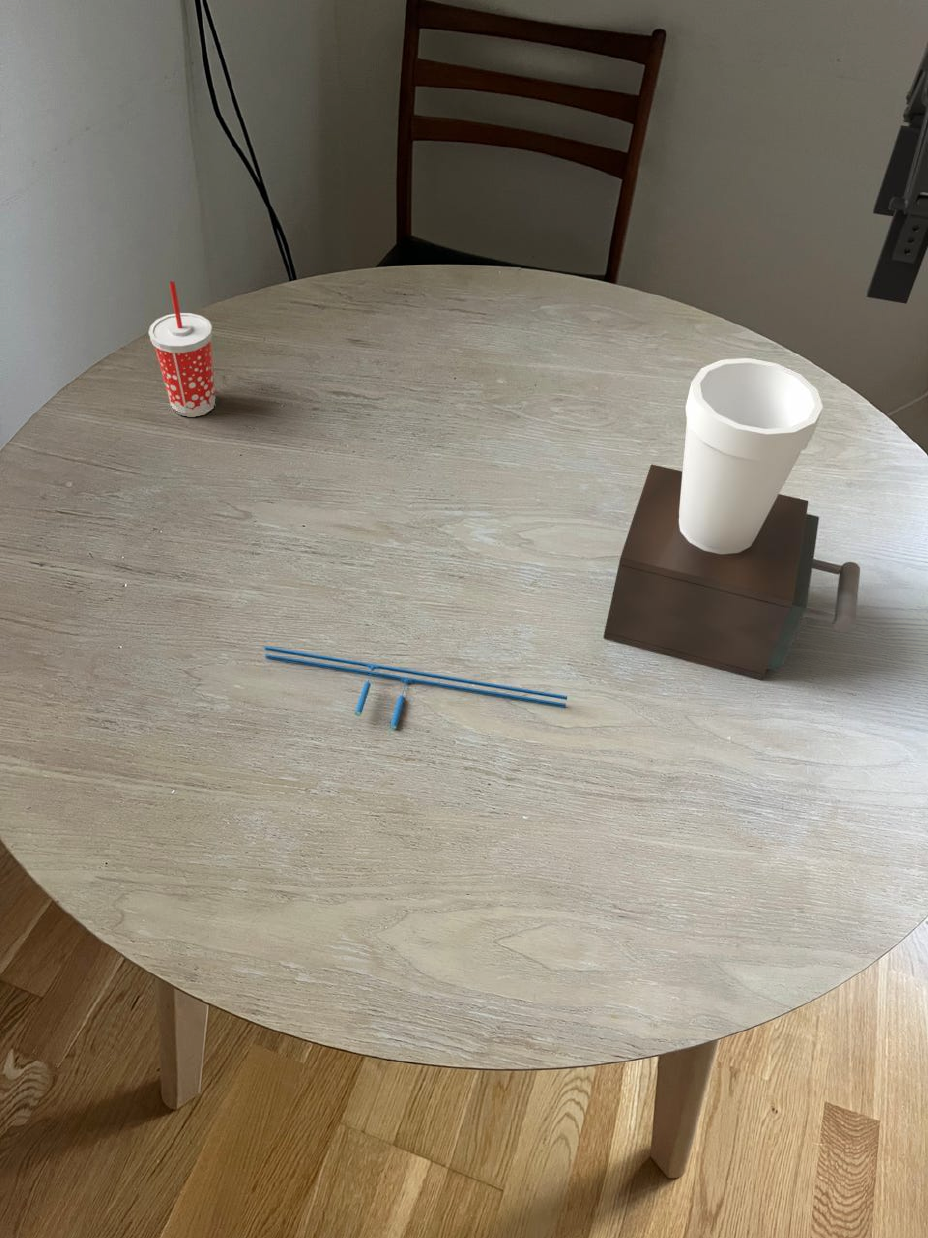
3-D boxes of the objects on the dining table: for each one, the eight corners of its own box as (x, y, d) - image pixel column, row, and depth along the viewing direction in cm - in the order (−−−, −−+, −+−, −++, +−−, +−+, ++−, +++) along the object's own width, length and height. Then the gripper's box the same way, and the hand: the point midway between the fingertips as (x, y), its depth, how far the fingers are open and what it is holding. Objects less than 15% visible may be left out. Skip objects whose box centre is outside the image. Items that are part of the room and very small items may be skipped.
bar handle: (560, 745, 79) (567, 695, 83) (244, 692, 81) (264, 645, 85) (558, 757, 80) (565, 706, 84) (246, 704, 82) (266, 657, 86)
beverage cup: (230, 391, 111) (213, 269, 101) (213, 425, 107) (193, 302, 97) (174, 384, 112) (151, 263, 101) (155, 418, 107) (129, 295, 97)
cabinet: (778, 580, 95) (808, 500, 88) (761, 680, 87) (793, 600, 80) (633, 544, 97) (651, 463, 90) (603, 638, 89) (620, 557, 82)
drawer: (843, 593, 93) (872, 528, 87) (833, 686, 85) (864, 622, 80) (657, 547, 96) (673, 482, 90) (632, 633, 88) (648, 567, 83)
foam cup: (639, 504, 87) (668, 371, 77) (733, 480, 89) (772, 348, 80) (699, 580, 81) (738, 445, 71) (797, 551, 83) (848, 418, 74)
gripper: (1093, -12, 53) (942, 349, 69) (1053, -120, 70) (939, 191, 85) (942, -29, 55) (827, 328, 70) (938, -131, 71) (845, 176, 87)
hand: (888, 253), depth 78 cm, fingers open, 13 cm apart
